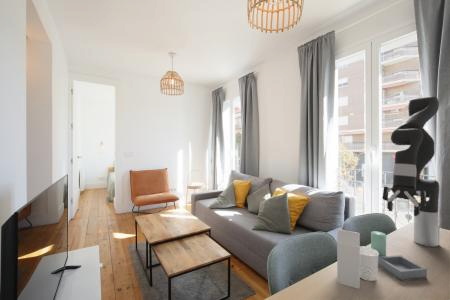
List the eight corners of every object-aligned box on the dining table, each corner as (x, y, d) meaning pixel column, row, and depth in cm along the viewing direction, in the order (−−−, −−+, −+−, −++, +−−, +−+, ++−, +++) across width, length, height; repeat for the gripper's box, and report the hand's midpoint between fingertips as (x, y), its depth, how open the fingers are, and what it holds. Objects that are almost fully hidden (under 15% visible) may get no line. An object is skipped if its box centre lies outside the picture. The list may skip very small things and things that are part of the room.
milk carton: (359, 289, 77) (359, 236, 77) (337, 283, 81) (337, 232, 81) (359, 279, 83) (359, 229, 83) (338, 273, 87) (338, 226, 87)
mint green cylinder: (378, 254, 102) (379, 230, 102) (389, 260, 97) (389, 235, 96) (368, 255, 101) (368, 231, 101) (377, 261, 96) (377, 236, 96)
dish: (400, 263, 94) (400, 255, 94) (426, 278, 83) (426, 269, 83) (377, 265, 93) (377, 256, 93) (400, 280, 82) (401, 271, 82)
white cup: (382, 283, 81) (382, 256, 80) (359, 281, 82) (359, 254, 82) (372, 271, 88) (373, 247, 88) (351, 269, 90) (351, 245, 90)
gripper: (429, 177, 89) (427, 217, 88) (388, 173, 101) (386, 209, 100) (424, 176, 85) (422, 218, 84) (381, 172, 97) (379, 209, 96)
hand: (402, 213), depth 92 cm, fingers open, 8 cm apart
